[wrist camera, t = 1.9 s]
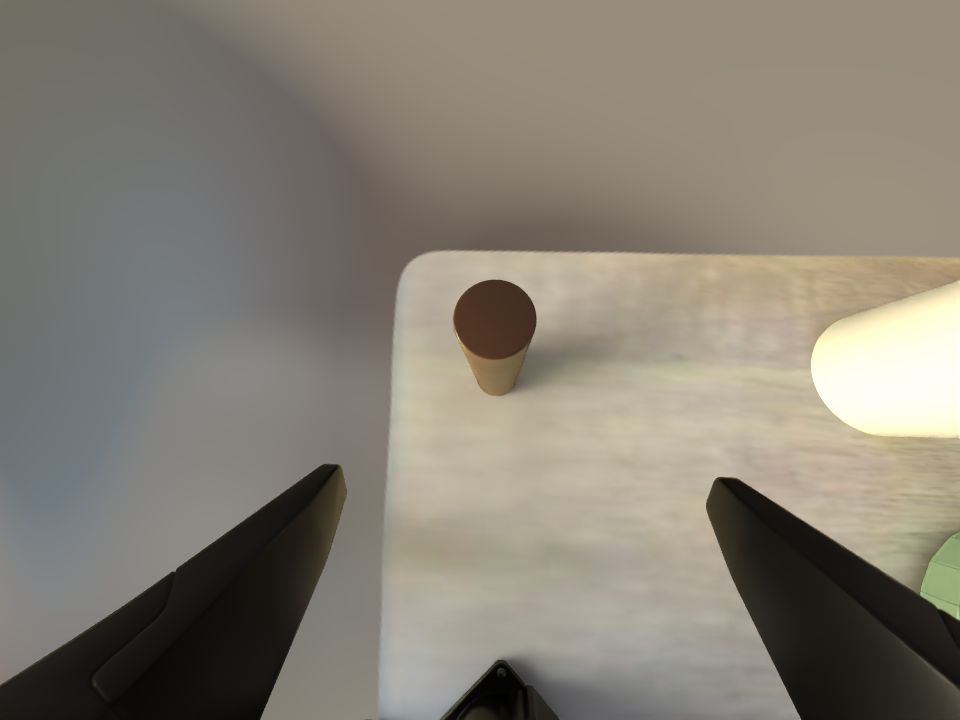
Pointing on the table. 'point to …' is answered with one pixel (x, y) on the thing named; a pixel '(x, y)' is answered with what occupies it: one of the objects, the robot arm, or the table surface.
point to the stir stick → (495, 332)
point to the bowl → (944, 577)
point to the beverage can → (895, 366)
